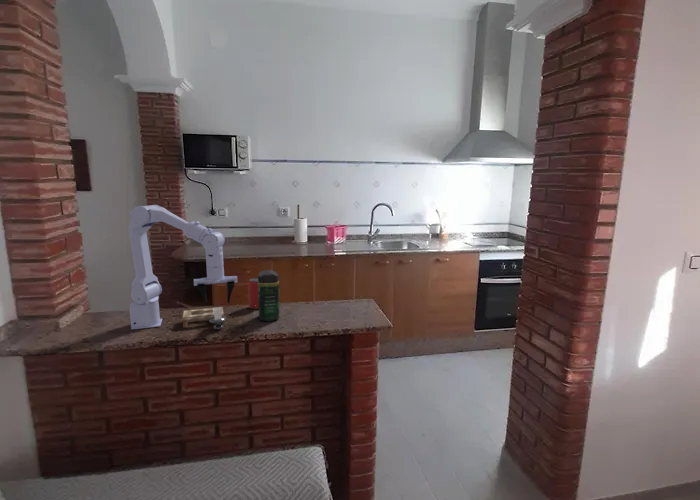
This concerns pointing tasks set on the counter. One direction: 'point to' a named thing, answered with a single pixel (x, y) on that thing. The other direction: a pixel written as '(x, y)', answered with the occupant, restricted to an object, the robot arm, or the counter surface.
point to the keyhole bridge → (207, 313)
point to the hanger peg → (218, 319)
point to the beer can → (253, 293)
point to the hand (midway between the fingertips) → (217, 303)
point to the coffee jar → (268, 295)
